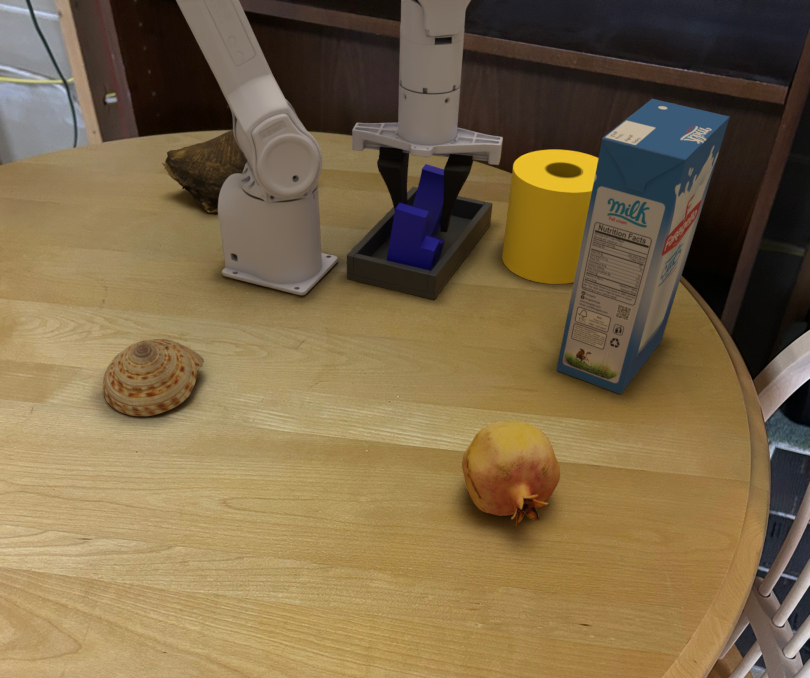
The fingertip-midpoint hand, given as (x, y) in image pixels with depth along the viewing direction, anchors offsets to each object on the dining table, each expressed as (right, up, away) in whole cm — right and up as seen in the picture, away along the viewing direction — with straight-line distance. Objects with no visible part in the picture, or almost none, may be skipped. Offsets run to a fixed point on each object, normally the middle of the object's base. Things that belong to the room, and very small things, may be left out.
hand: (423, 225), depth 84 cm
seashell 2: (-21, +7, +10) cm, 24 cm away
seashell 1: (-23, -20, -15) cm, 34 cm away
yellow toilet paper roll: (+13, -3, +2) cm, 14 cm away
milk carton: (+17, -16, -10) cm, 26 cm away
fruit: (+6, -30, -24) cm, 39 cm away
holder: (0, -2, +2) cm, 3 cm away
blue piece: (0, -2, +1) cm, 2 cm away
